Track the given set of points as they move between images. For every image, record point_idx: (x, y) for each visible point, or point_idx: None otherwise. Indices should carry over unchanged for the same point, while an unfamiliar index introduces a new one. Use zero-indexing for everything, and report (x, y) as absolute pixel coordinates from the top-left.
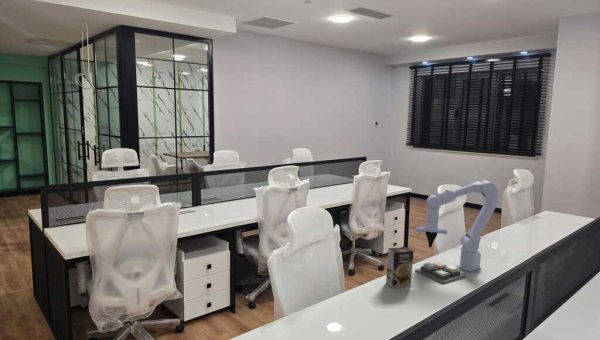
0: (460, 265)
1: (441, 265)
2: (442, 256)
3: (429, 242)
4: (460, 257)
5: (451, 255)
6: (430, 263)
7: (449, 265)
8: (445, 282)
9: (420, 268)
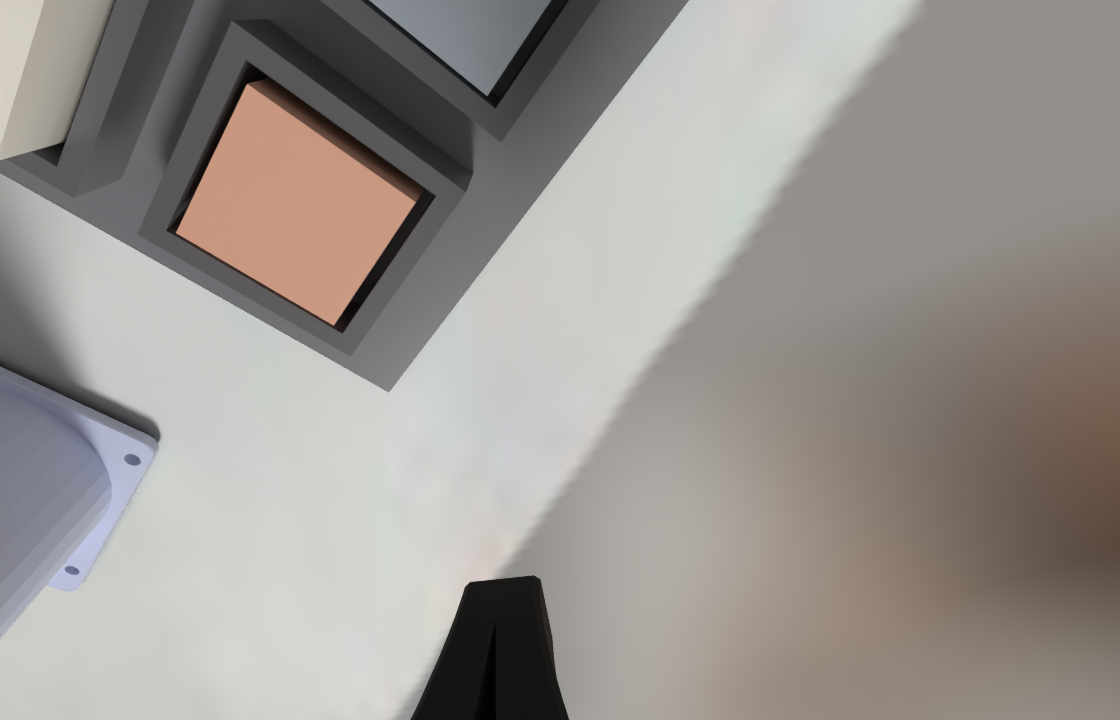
0: (68, 446)
1: (237, 163)
2: (397, 652)
3: (527, 700)
4: (10, 564)
5: (316, 699)
6: (449, 42)
7: (5, 102)
8: None
9: (653, 34)
